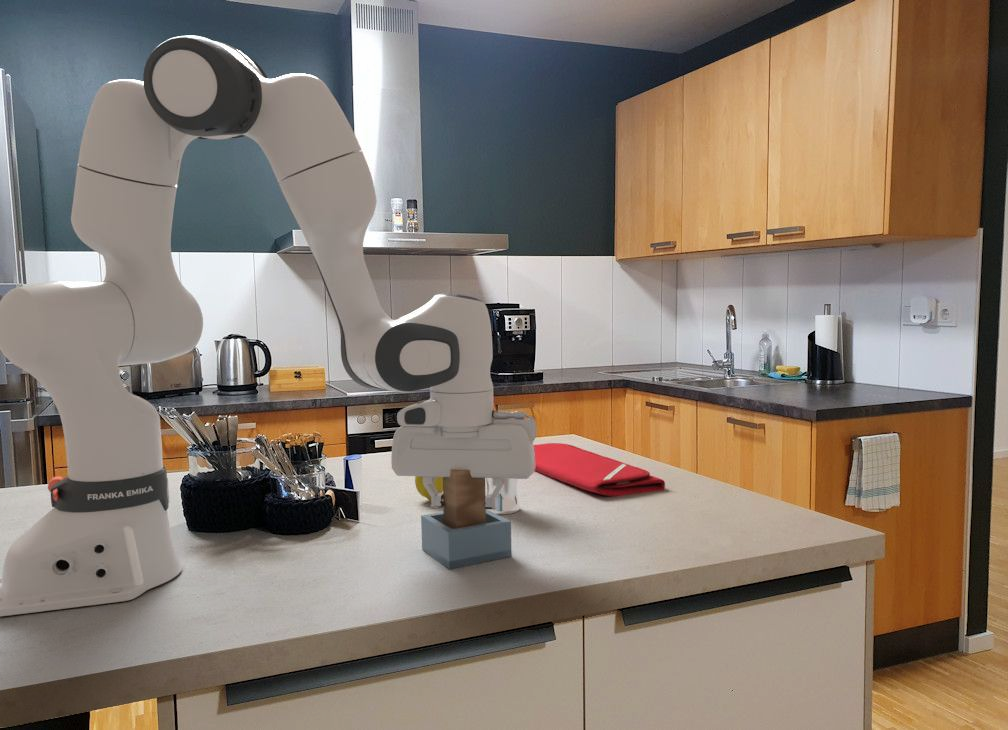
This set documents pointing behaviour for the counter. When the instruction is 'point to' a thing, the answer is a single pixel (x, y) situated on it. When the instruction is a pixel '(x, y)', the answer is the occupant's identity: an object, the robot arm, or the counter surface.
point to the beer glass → (504, 496)
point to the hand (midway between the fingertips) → (464, 507)
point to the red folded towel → (593, 471)
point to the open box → (466, 540)
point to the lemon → (422, 489)
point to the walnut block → (463, 500)
